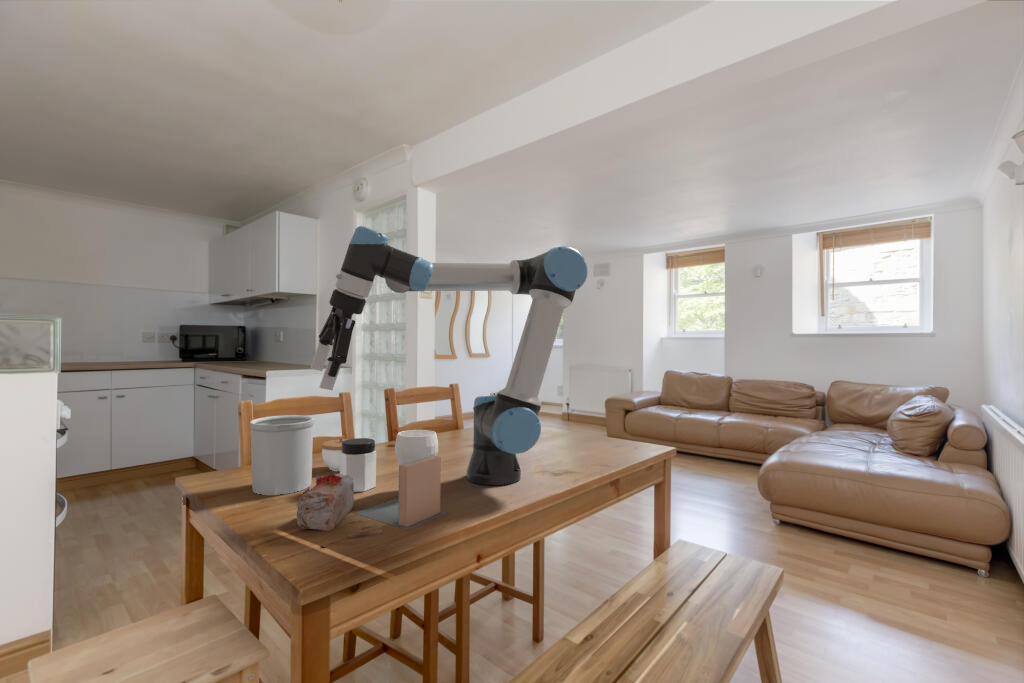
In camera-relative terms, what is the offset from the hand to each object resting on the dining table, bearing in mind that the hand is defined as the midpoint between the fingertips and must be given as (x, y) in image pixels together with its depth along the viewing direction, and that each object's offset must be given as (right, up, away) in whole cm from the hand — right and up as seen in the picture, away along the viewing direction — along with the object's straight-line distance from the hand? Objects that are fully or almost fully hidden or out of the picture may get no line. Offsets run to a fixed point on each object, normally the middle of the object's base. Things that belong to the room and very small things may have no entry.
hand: (320, 378), depth 110 cm
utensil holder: (-14, -29, +11) cm, 34 cm away
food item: (+6, -29, -12) cm, 32 cm away
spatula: (+14, -29, -21) cm, 39 cm away
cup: (+21, -29, +7) cm, 37 cm away
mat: (+21, -29, -8) cm, 37 cm away
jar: (+5, -29, +11) cm, 32 cm away
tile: (+25, -28, -11) cm, 40 cm away
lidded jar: (-6, -29, +29) cm, 42 cm away
